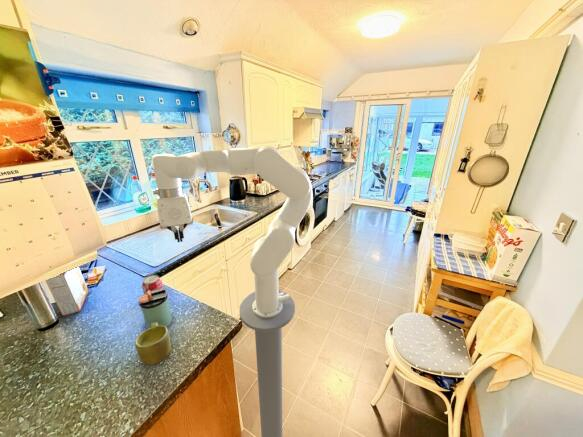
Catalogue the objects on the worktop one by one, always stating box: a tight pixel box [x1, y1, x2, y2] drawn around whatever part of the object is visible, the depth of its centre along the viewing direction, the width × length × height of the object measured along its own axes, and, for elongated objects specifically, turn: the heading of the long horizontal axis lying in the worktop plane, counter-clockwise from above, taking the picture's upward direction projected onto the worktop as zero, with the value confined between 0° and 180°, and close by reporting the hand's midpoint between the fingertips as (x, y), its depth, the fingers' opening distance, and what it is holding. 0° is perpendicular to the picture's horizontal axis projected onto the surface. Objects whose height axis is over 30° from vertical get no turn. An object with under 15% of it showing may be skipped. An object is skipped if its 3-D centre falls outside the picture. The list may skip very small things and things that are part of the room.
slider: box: [139, 290, 151, 303], centre depth 84 cm, size 3×3×2 cm
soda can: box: [141, 274, 165, 295], centre depth 98 cm, size 7×7×12 cm
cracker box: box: [45, 266, 89, 317], centre depth 95 cm, size 14×6×21 cm, turn 27°
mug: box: [134, 322, 172, 366], centre depth 77 cm, size 12×10×10 cm
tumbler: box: [138, 288, 173, 330], centre depth 87 cm, size 9×9×13 cm
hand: (179, 240), depth 86 cm, fingers closed
